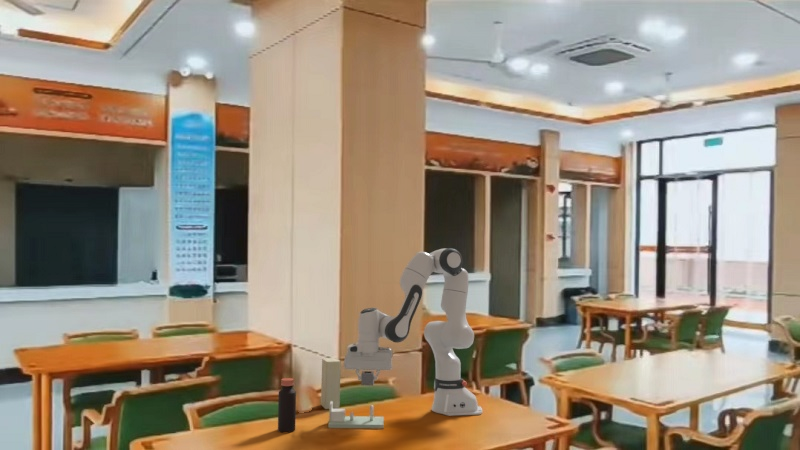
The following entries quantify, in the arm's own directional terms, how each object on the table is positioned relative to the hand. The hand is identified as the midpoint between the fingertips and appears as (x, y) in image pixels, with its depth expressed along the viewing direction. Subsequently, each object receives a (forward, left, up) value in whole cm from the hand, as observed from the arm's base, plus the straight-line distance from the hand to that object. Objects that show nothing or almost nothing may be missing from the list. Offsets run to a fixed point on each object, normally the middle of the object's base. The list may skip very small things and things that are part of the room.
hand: (367, 380), depth 279 cm
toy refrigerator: (+17, -19, -16) cm, 30 cm away
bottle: (+31, +18, -16) cm, 39 cm away
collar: (0, 0, -2) cm, 2 cm away
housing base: (+4, +8, -16) cm, 18 cm away
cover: (+12, +8, -15) cm, 20 cm away
